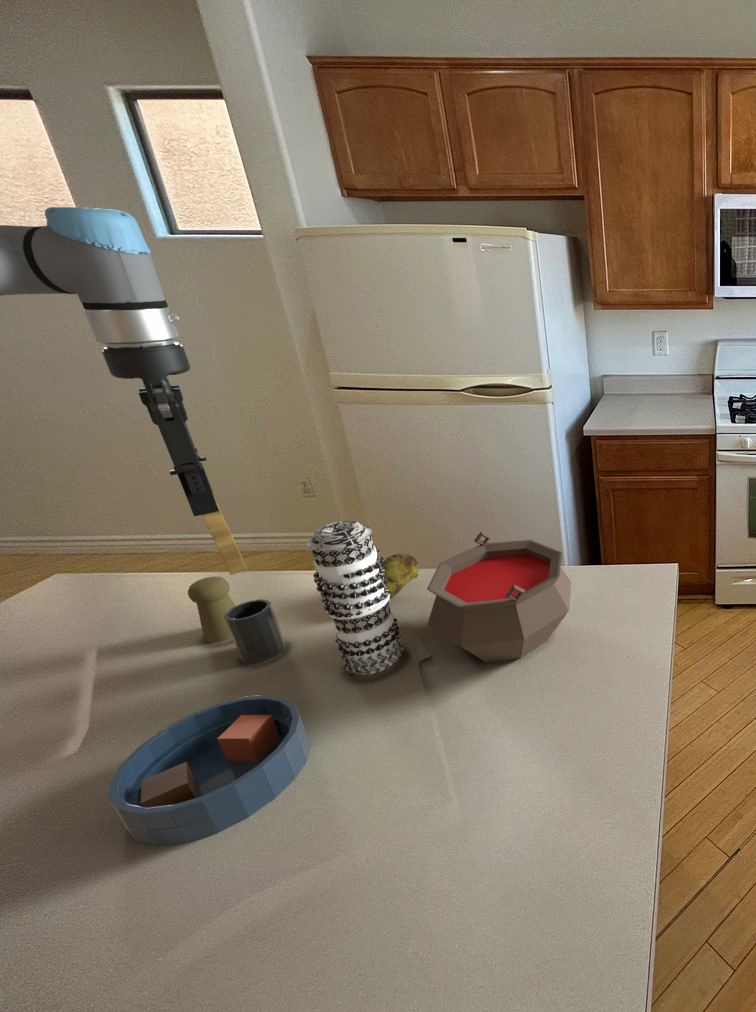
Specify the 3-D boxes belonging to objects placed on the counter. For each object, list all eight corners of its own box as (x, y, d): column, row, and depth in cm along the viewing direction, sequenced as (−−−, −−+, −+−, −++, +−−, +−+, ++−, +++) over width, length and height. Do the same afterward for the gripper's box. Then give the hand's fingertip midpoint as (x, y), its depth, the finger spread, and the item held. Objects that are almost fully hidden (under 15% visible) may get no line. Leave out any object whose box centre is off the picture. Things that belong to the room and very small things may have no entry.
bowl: (131, 779, 70) (111, 744, 68) (298, 708, 81) (286, 676, 79) (128, 884, 59) (105, 846, 56) (324, 784, 70) (311, 749, 68)
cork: (204, 650, 93) (180, 595, 89) (204, 633, 97) (181, 579, 93) (250, 635, 97) (229, 582, 92) (248, 619, 101) (227, 567, 97)
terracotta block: (250, 737, 76) (241, 714, 74) (280, 737, 76) (271, 714, 74) (227, 761, 72) (216, 738, 70) (258, 761, 72) (248, 738, 70)
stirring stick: (229, 570, 84) (171, 447, 76) (245, 565, 86) (190, 444, 77) (230, 575, 83) (171, 451, 75) (247, 570, 84) (191, 447, 76)
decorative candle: (413, 640, 96) (380, 511, 86) (401, 676, 88) (364, 537, 78) (353, 650, 94) (313, 517, 84) (336, 687, 85) (289, 546, 76)
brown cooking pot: (599, 648, 95) (592, 566, 89) (449, 705, 82) (428, 614, 76) (553, 585, 113) (544, 513, 107) (424, 624, 101) (405, 545, 94)
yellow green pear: (345, 604, 106) (334, 568, 103) (414, 578, 115) (406, 544, 112) (361, 622, 101) (350, 584, 98) (432, 592, 110) (424, 557, 107)
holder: (240, 654, 92) (222, 609, 89) (283, 638, 96) (268, 595, 93) (244, 671, 88) (225, 625, 85) (289, 654, 92) (273, 610, 89)
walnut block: (154, 804, 66) (140, 780, 65) (198, 784, 69) (186, 761, 67) (153, 827, 63) (140, 803, 62) (199, 806, 66) (187, 782, 64)
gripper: (183, 347, 68) (245, 519, 77) (179, 335, 78) (233, 488, 87) (95, 353, 63) (172, 536, 72) (102, 339, 73) (169, 501, 82)
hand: (205, 509), depth 80 cm, fingers closed on stirring stick, 2 cm apart
